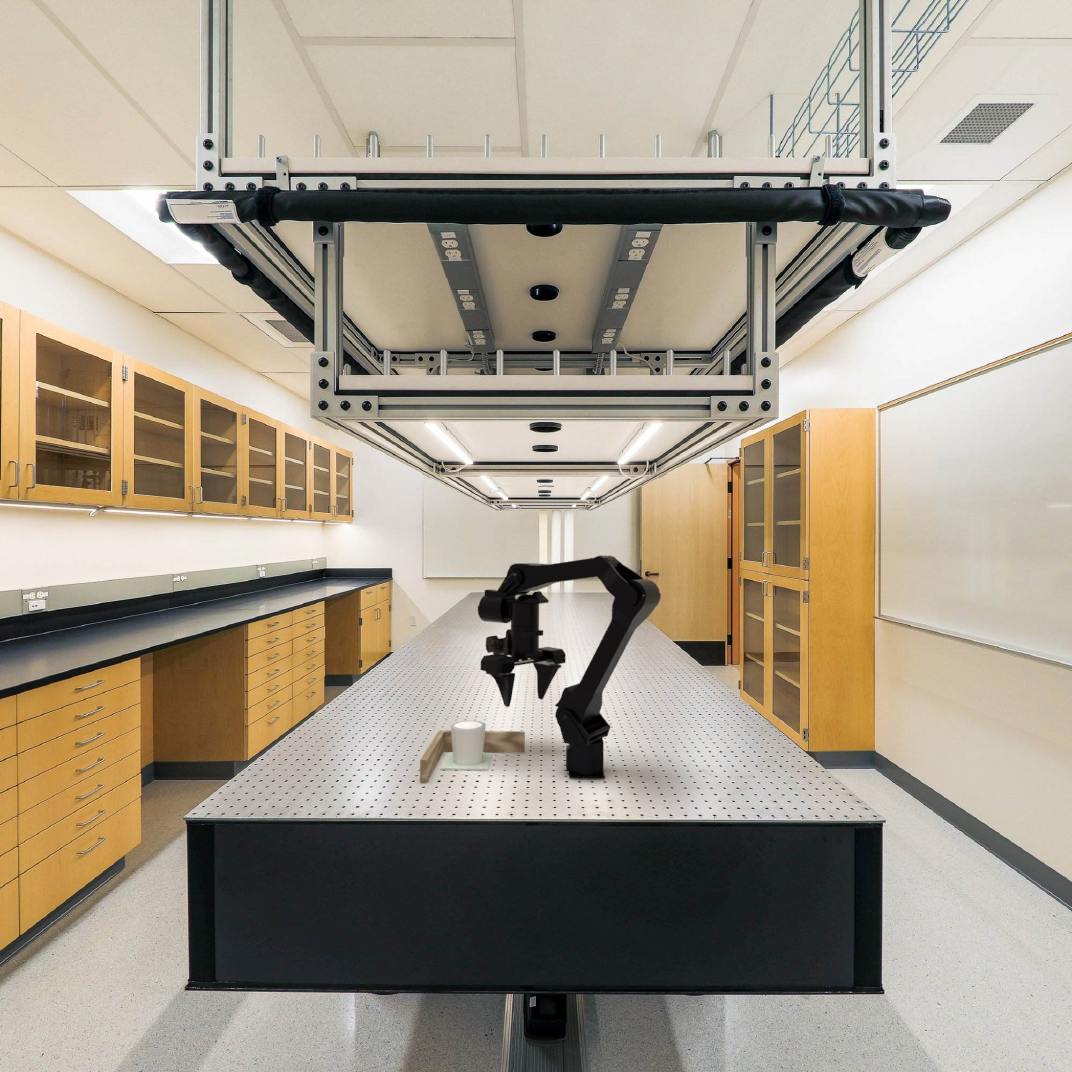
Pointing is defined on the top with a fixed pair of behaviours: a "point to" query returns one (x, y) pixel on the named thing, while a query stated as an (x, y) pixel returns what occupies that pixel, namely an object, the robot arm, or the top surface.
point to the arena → (492, 743)
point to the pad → (450, 765)
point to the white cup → (468, 742)
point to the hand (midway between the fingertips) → (524, 702)
